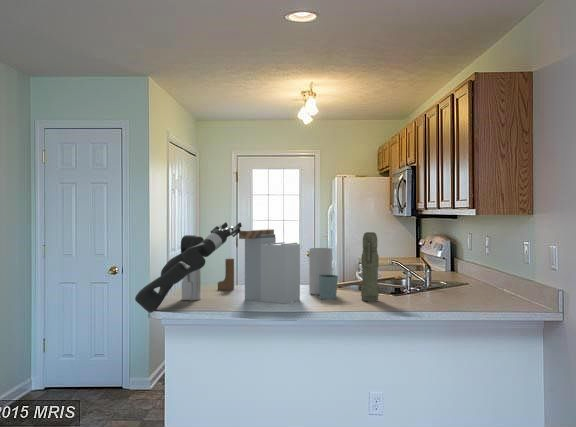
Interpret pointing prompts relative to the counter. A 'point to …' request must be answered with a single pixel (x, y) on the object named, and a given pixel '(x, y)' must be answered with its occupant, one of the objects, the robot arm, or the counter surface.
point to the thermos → (369, 267)
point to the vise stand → (272, 270)
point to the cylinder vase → (318, 267)
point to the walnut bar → (254, 233)
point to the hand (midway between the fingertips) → (233, 224)
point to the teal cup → (328, 286)
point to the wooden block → (228, 276)
